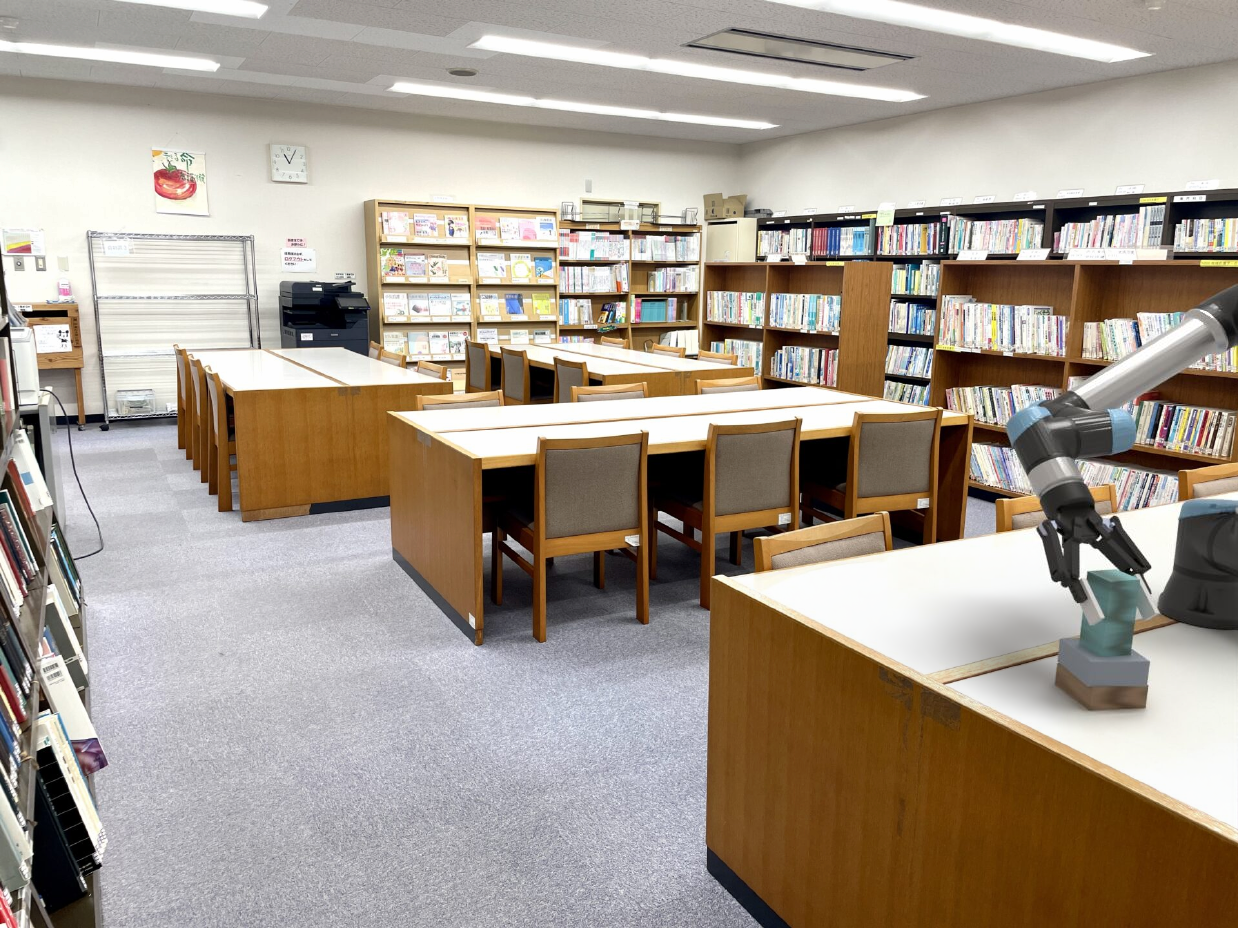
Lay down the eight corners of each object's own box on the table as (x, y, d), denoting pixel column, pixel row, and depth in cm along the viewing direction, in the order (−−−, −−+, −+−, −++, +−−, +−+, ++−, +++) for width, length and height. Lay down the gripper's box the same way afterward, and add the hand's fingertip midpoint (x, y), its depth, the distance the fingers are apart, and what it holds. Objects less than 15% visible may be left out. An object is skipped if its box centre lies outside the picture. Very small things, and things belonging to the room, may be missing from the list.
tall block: (1107, 641, 139) (1115, 569, 137) (1130, 654, 134) (1140, 579, 132) (1079, 644, 138) (1087, 571, 136) (1101, 657, 133) (1110, 581, 131)
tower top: (1112, 661, 142) (1115, 637, 141) (1146, 686, 133) (1150, 661, 132) (1057, 661, 141) (1059, 638, 141) (1087, 686, 133) (1090, 661, 132)
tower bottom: (1107, 683, 143) (1109, 660, 142) (1145, 709, 134) (1148, 685, 133) (1054, 686, 142) (1057, 663, 141) (1089, 712, 133) (1092, 688, 132)
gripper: (1104, 500, 149) (1169, 623, 137) (991, 506, 145) (1047, 634, 133) (1132, 476, 143) (1202, 603, 131) (1015, 481, 139) (1076, 613, 127)
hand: (1124, 619), depth 132 cm, fingers open, 9 cm apart
